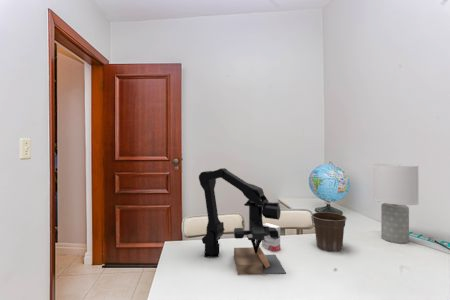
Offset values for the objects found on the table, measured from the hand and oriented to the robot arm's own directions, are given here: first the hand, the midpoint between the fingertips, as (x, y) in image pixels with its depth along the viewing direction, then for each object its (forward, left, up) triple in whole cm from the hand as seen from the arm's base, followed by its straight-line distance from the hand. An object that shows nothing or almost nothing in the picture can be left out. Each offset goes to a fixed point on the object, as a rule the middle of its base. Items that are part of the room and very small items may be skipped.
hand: (255, 252), depth 105 cm
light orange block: (+2, 0, -2) cm, 3 cm away
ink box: (+11, +17, -5) cm, 21 cm away
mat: (+6, 0, -5) cm, 8 cm away
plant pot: (+41, +17, -5) cm, 45 cm away
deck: (-4, 0, -5) cm, 6 cm away
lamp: (+83, +26, -5) cm, 87 cm away
